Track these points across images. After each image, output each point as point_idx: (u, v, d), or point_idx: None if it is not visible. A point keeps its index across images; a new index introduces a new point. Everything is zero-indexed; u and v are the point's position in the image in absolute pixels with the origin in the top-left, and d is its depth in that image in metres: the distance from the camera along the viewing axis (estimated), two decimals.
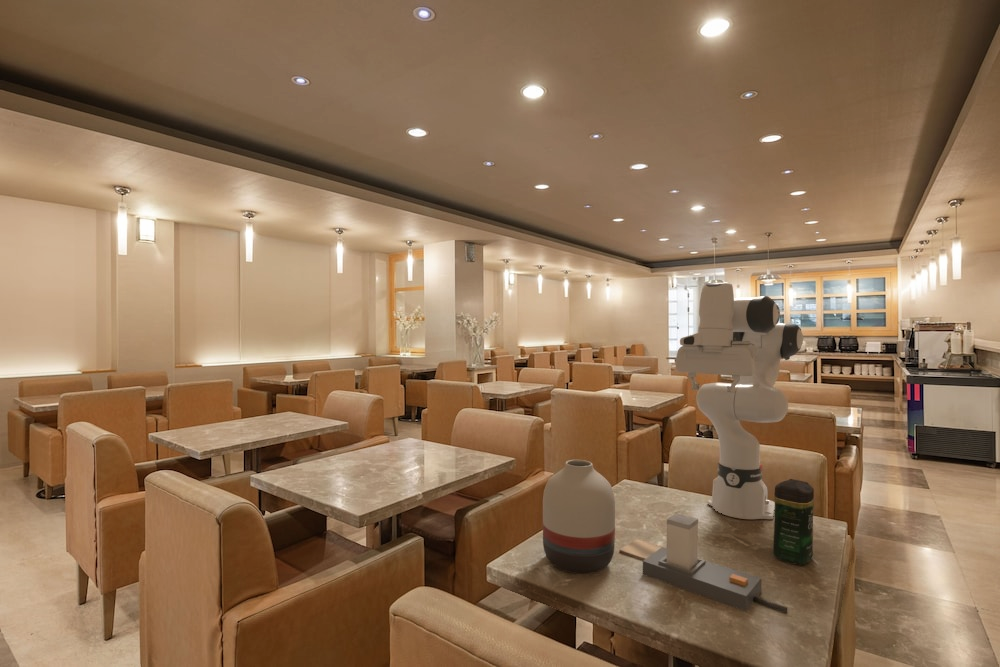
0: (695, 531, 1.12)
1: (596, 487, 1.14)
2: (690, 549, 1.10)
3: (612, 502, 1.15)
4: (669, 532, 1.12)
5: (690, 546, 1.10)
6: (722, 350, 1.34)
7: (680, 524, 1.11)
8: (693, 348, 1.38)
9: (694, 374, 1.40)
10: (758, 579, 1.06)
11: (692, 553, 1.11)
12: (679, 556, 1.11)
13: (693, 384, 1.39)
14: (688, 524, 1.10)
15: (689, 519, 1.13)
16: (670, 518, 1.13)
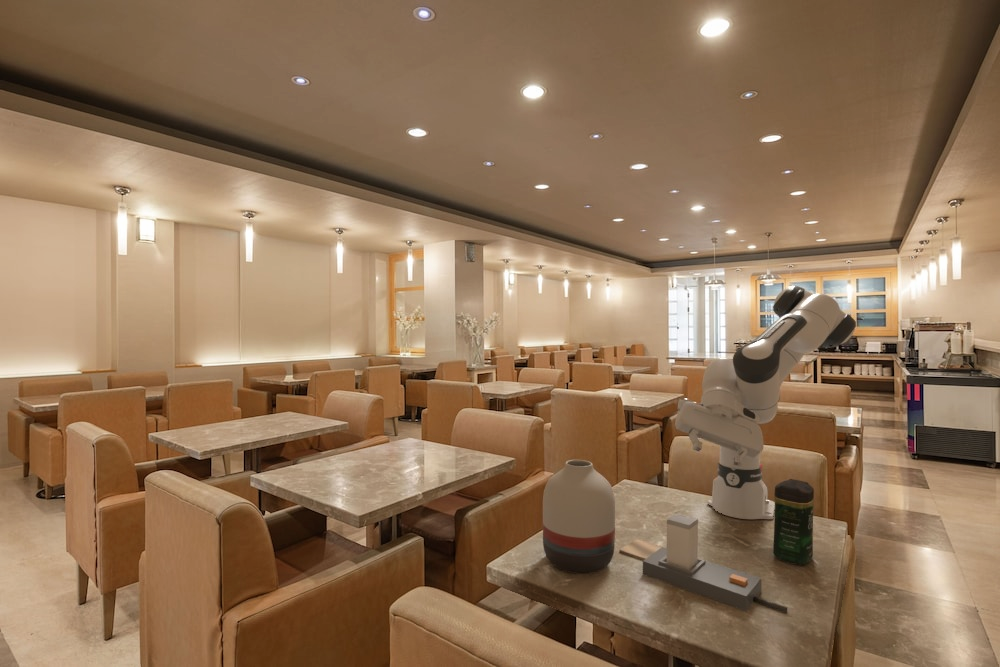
0: (695, 531, 1.12)
1: (596, 487, 1.14)
2: (690, 549, 1.10)
3: (612, 502, 1.15)
4: (669, 532, 1.12)
5: (690, 546, 1.10)
6: None
7: (680, 524, 1.11)
8: None
9: (739, 450, 1.19)
10: (758, 579, 1.06)
11: (692, 553, 1.11)
12: (679, 556, 1.11)
13: None
14: (688, 524, 1.10)
15: (689, 519, 1.13)
16: (670, 518, 1.13)
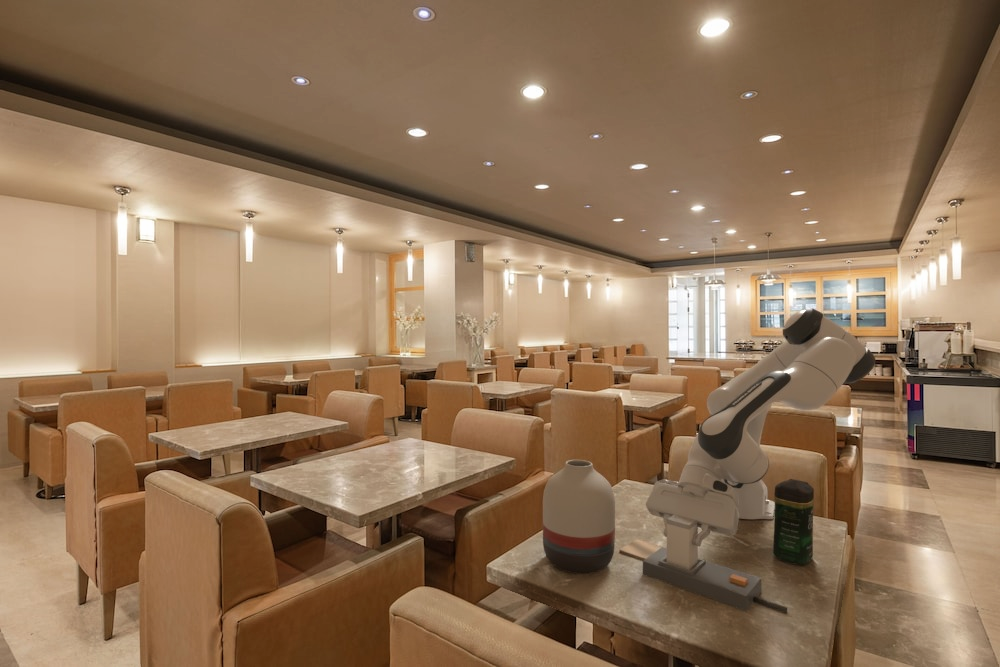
0: (695, 531, 1.12)
1: (596, 487, 1.14)
2: (690, 549, 1.10)
3: (612, 502, 1.15)
4: (669, 532, 1.12)
5: (690, 546, 1.10)
6: None
7: (680, 524, 1.11)
8: None
9: None
10: (758, 579, 1.06)
11: (692, 553, 1.11)
12: (679, 556, 1.11)
13: None
14: (688, 524, 1.10)
15: (689, 519, 1.13)
16: (670, 518, 1.13)
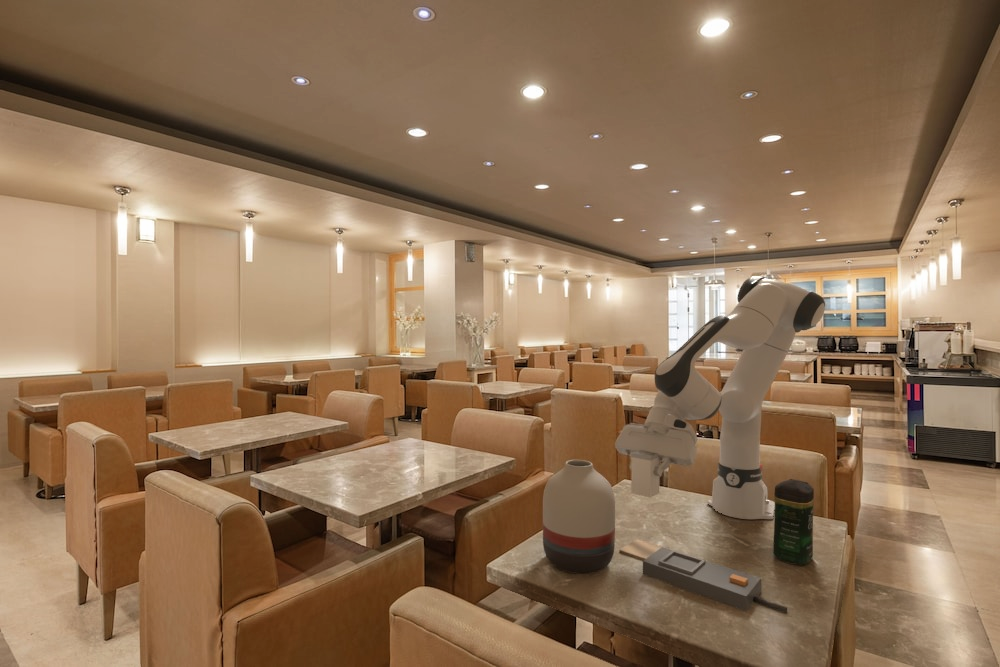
0: (657, 463, 1.24)
1: (596, 487, 1.14)
2: (652, 478, 1.23)
3: (612, 502, 1.15)
4: (634, 464, 1.25)
5: (651, 476, 1.22)
6: None
7: (643, 456, 1.23)
8: None
9: None
10: (758, 579, 1.06)
11: (654, 482, 1.24)
12: (642, 485, 1.23)
13: None
14: (650, 456, 1.22)
15: (652, 453, 1.25)
16: (634, 452, 1.26)
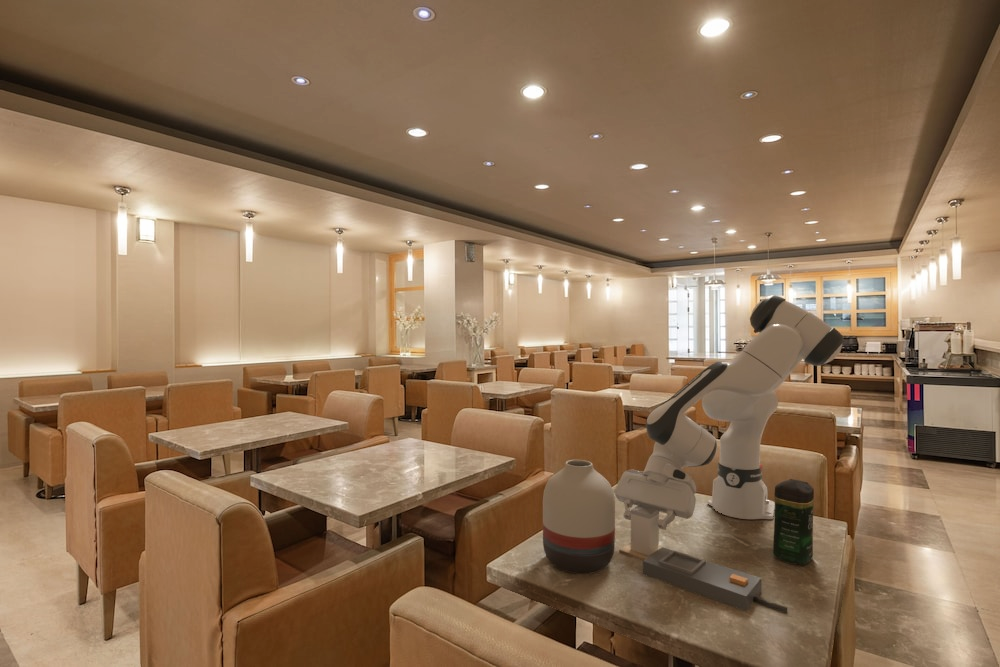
0: (656, 520, 1.25)
1: (596, 487, 1.14)
2: (651, 536, 1.23)
3: (612, 502, 1.15)
4: (633, 521, 1.25)
5: (651, 534, 1.23)
6: None
7: (642, 514, 1.23)
8: None
9: None
10: (758, 579, 1.06)
11: (653, 540, 1.24)
12: (641, 543, 1.23)
13: None
14: (649, 514, 1.22)
15: (651, 509, 1.25)
16: (634, 509, 1.26)
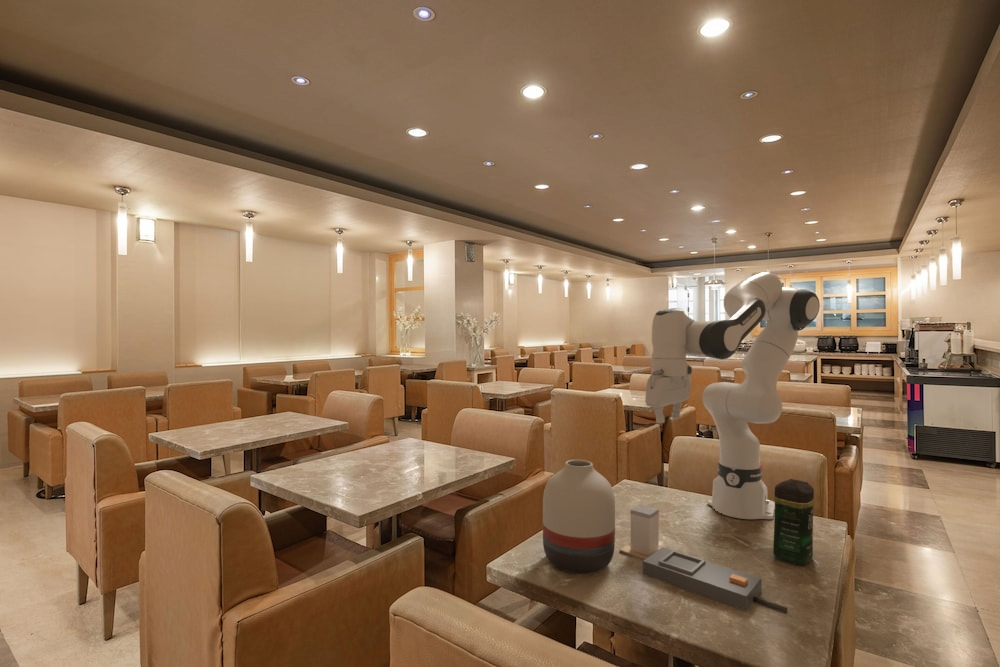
0: (656, 520, 1.25)
1: (596, 487, 1.14)
2: (651, 536, 1.23)
3: (612, 502, 1.15)
4: (633, 521, 1.25)
5: (650, 534, 1.23)
6: None
7: (642, 514, 1.23)
8: None
9: (676, 402, 1.39)
10: (758, 579, 1.06)
11: (653, 540, 1.24)
12: (641, 543, 1.23)
13: None
14: (649, 514, 1.22)
15: (651, 509, 1.25)
16: (634, 509, 1.26)
